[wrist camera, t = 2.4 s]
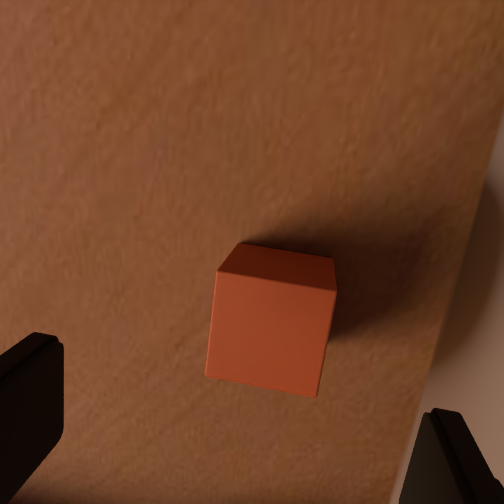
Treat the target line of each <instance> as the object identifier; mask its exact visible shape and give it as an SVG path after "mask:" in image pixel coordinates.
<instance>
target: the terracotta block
mask: <svg viewBox="0 0 504 504" xmlns="http://www.w3.org/2000/svg"><path fill="white" fill-rule="evenodd" d="M336 297H337V285H336V277H335V269H334V261H333V259H332V258H328V257H322V256H316V255H309V254H303V253H297V252H291V251H285V250H279V249H273V248H267V247H261V246H255V245H249V244H243V243H238V244H237V245H236V247H235V248H234V249H233V250H232V252H231V253H230V254H229V256H228V257H227V258H226V259H225V261H224V262H223V263H222V265H221V266H220V267H219V268H218V270H217V271H216V279H215V288H214V297H213V306H212V315H211V323H210V332H209V341H208V350H207V359H206V368H205V376H208V377H213V378H218V379H223V380H228V381H233V382H238V383H243V384H248V385H253V386H258V387H263V388H268V389H273V390H278V391H283V392H288V393H293V394H298V395H303V396H308V397H313V398H316V397H317V394H318V389H319V384H320V379H321V374H322V369H323V364H324V358H325V353H326V348H327V343H328V338H329V333H330V328H331V323H332V318H333V313H334V308H335V302H336Z"/></svg>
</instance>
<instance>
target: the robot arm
mask: <svg viewBox="0 0 504 504" xmlns="http://www.w3.org/2000/svg"><path fill="white" fill-rule="evenodd" d="M63 428H64V346H63V344H62V343H61V342H59V340H58V338H57V337H56V336H54V335H48V334H43V333H38V332H33V333H31V334H30V335H28V336H27V337H26V338H24V339H23V340H21V341H20V342H18V343H17V344H16V345H14V346H13V347H11V348H10V349H9V350H7V351H6V352H4V353H3V354H2V355H0V504H8V502H9V501H10V500H11V499H12V497H13V496H14V495H15V494H16V493H17V491H18V490H19V489H20V488H21V487H22V485H23V484H24V483H25V482H26V481H27V479H28V478H29V477H30V476H31V475H32V473H33V472H34V471H35V470H36V468H37V467H38V466H39V465H40V464H41V462H42V461H43V460H44V459H45V458H46V456H47V455H48V454H49V453H50V452H51V450H52V449H53V448H54V447H55V445H56V444H57V443H58V442H59V440H60V438H61V436H62V433H63ZM399 504H504V488H503V486H502V484H501V483H500V482H499V480H497V479H496V478H494V476H493V474H492V472H491V471H490V469H489V467H488V465H487V463H486V461H485V459H484V457H483V455H482V453H481V451H480V450H479V448H478V446H477V444H476V442H475V440H474V438H473V436H472V434H471V432H470V431H469V428H468V427H467V425H466V423H465V421H464V419H463V417H462V415H461V414H460V413H458V412H455V411H449V410H444V409H439V408H434V409H433V410H432V411H431V413H427V412H425V413H424V414H423V417H422V420H421V424H420V427H419V431H418V434H417V438H416V441H415V445H414V448H413V452H412V456H411V459H410V463H409V466H408V470H407V473H406V477H405V480H404V484H403V488H402V491H401V495H400V498H399Z"/></svg>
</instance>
